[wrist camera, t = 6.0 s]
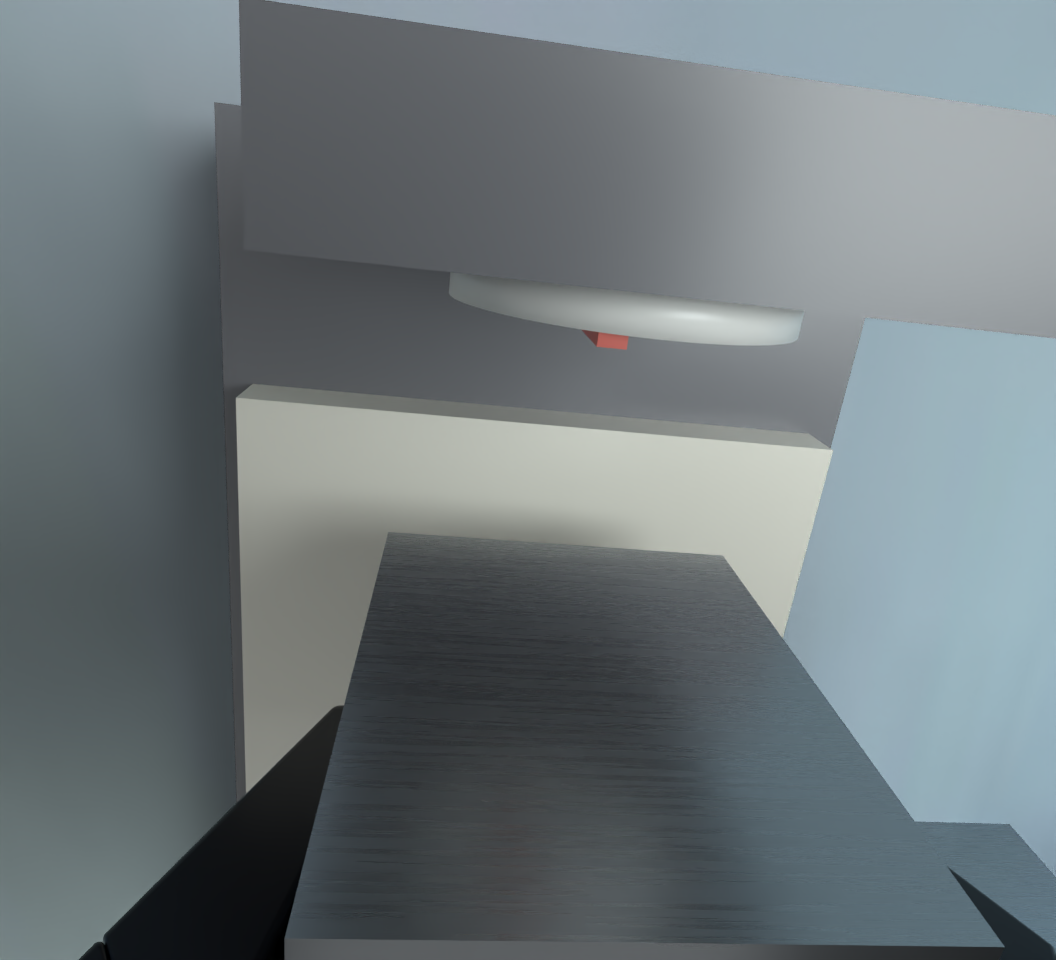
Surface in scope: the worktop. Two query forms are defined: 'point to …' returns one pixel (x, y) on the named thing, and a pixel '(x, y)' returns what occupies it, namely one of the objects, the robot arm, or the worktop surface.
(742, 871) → the block
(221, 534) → the worktop surface
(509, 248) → the scale
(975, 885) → the block
